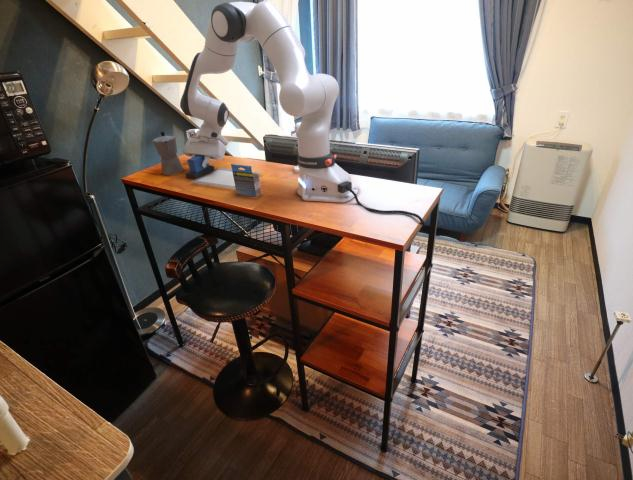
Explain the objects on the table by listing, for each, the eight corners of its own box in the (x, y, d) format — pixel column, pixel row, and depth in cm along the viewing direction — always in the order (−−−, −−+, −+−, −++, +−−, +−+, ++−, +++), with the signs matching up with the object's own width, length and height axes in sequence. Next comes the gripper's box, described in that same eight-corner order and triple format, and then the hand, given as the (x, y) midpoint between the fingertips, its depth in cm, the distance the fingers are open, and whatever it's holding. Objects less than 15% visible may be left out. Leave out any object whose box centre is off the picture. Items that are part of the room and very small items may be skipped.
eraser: (214, 171, 152) (211, 153, 148) (196, 180, 143) (191, 162, 139) (206, 170, 154) (202, 152, 150) (187, 179, 145) (182, 160, 141)
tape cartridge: (262, 195, 127) (257, 162, 121) (256, 199, 124) (251, 166, 118) (242, 192, 131) (236, 160, 124) (236, 196, 128) (230, 164, 121)
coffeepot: (186, 174, 153) (175, 132, 144) (164, 178, 149) (151, 136, 140) (181, 164, 165) (171, 126, 156) (160, 168, 161) (148, 129, 152)
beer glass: (197, 159, 171) (189, 128, 163) (210, 159, 170) (203, 128, 162) (190, 164, 165) (182, 132, 157) (204, 164, 164) (197, 132, 156)
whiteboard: (261, 175, 146) (260, 173, 145) (235, 191, 132) (234, 188, 132) (220, 170, 155) (220, 168, 154) (192, 184, 141) (191, 182, 141)
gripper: (185, 132, 150) (174, 160, 148) (222, 134, 142) (211, 165, 139) (195, 139, 156) (184, 167, 153) (231, 142, 148) (221, 172, 145)
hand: (198, 166), depth 146 cm, fingers closed on eraser, 3 cm apart
